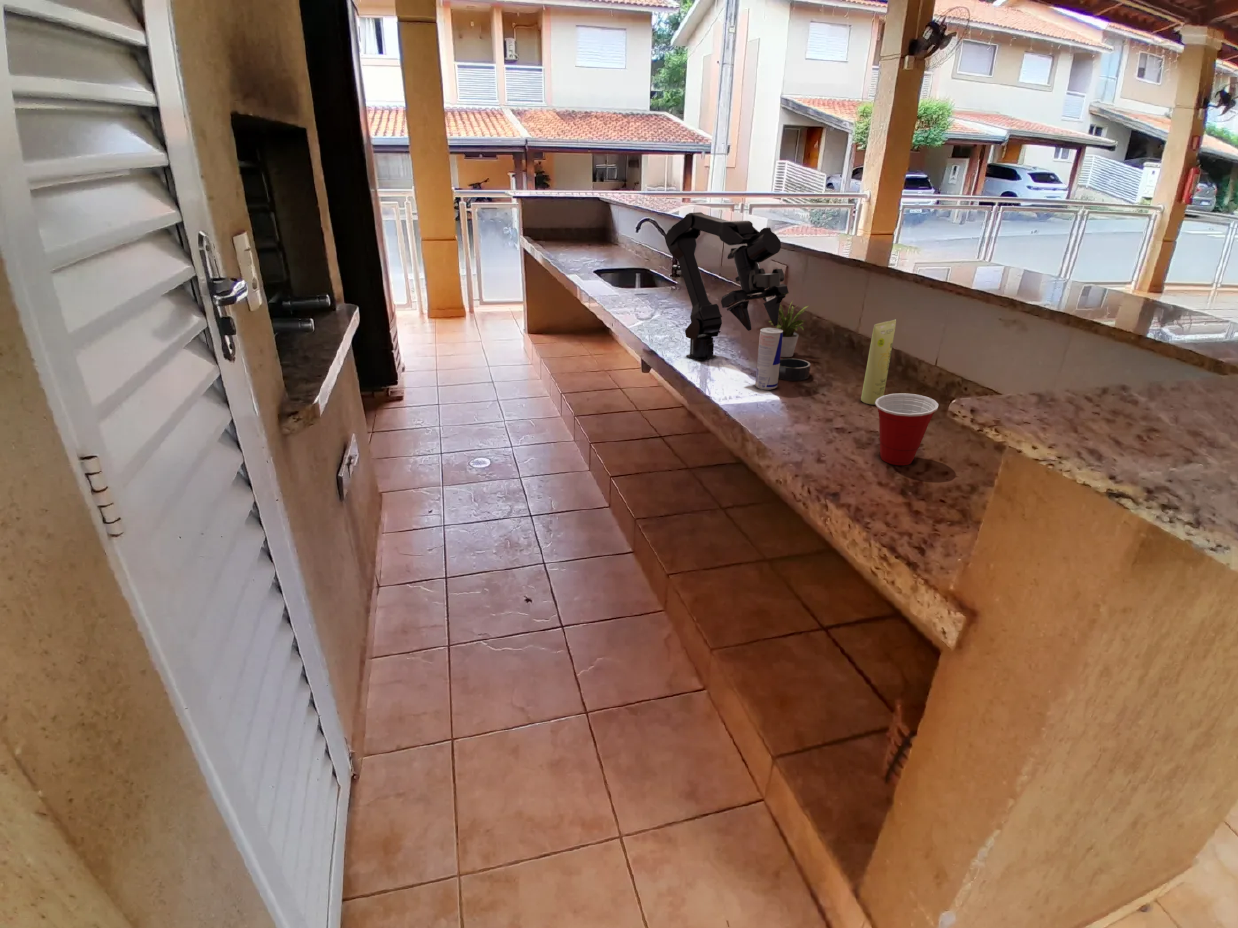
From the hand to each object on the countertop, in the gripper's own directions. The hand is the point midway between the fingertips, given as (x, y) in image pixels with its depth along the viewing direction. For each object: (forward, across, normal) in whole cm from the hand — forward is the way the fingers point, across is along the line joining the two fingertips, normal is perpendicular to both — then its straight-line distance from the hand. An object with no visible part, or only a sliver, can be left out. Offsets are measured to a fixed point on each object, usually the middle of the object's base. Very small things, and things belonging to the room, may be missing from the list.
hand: (763, 328), depth 160 cm
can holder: (+14, +9, +4) cm, 17 cm away
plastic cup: (+36, -13, -40) cm, 55 cm away
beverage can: (+15, -3, +1) cm, 16 cm away
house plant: (+6, +21, +18) cm, 29 cm away
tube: (+26, +10, -19) cm, 33 cm away
